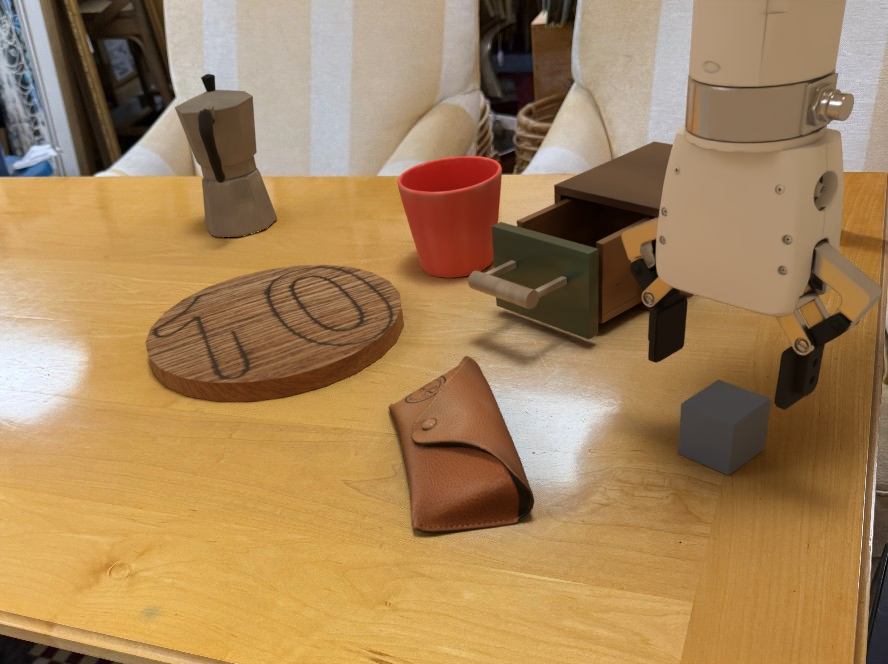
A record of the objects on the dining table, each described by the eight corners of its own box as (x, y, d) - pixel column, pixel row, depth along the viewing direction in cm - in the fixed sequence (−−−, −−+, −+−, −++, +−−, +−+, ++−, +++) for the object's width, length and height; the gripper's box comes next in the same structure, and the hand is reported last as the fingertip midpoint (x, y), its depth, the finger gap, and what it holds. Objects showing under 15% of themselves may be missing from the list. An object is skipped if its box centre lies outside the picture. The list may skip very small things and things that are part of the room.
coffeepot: (213, 212, 122) (177, 67, 111) (282, 202, 121) (253, 56, 111) (195, 256, 110) (153, 98, 99) (272, 246, 109) (238, 86, 98)
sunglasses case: (380, 402, 75) (413, 332, 72) (456, 426, 77) (491, 359, 74) (412, 536, 61) (455, 456, 57) (504, 560, 63) (551, 485, 60)
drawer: (547, 363, 76) (544, 275, 71) (455, 326, 84) (448, 244, 79) (687, 285, 84) (693, 201, 80) (592, 257, 92) (592, 180, 87)
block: (713, 428, 67) (718, 379, 64) (764, 449, 64) (771, 398, 62) (677, 453, 65) (680, 403, 63) (728, 476, 62) (734, 424, 60)
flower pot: (392, 283, 96) (379, 191, 90) (428, 242, 103) (419, 155, 98) (488, 287, 92) (482, 191, 86) (519, 245, 99) (515, 154, 94)
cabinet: (659, 314, 82) (665, 210, 77) (555, 281, 91) (553, 184, 85) (755, 259, 89) (766, 159, 83) (650, 233, 97) (653, 141, 92)
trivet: (188, 433, 76) (182, 414, 75) (126, 327, 95) (121, 311, 94) (450, 343, 83) (448, 324, 82) (344, 261, 102) (341, 245, 101)
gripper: (950, 106, 47) (883, 396, 57) (670, 76, 58) (655, 321, 68) (872, 146, 43) (815, 446, 53) (591, 106, 55) (588, 359, 65)
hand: (725, 376), depth 61 cm, fingers open, 9 cm apart
